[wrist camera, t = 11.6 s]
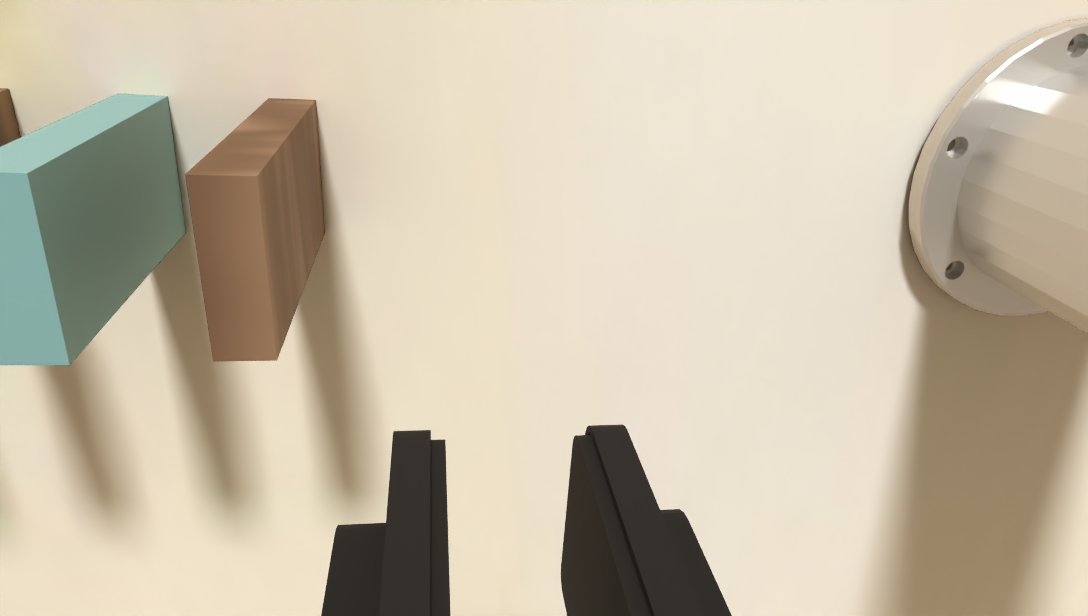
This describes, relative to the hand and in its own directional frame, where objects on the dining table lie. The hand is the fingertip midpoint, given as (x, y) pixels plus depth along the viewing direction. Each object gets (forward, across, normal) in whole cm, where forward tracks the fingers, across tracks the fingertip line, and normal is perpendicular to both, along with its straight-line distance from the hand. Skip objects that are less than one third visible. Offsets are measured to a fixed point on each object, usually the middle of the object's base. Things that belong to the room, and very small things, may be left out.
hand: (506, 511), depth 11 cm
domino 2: (+19, +6, 0) cm, 20 cm away
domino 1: (+19, +11, 0) cm, 22 cm away
